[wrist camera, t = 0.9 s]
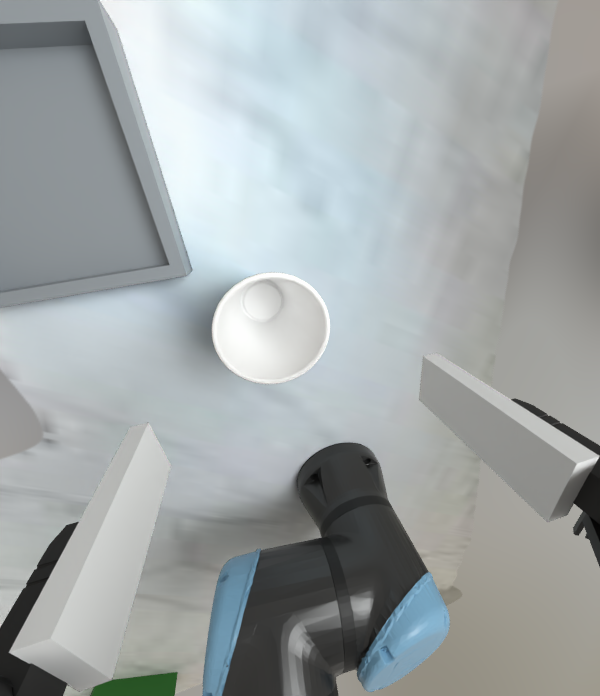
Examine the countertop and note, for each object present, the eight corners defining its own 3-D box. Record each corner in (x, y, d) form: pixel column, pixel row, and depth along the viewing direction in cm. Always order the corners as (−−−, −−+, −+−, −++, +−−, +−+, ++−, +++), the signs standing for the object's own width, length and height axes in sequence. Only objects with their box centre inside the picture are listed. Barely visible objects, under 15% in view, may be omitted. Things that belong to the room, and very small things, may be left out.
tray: (192, 270, 28) (186, 275, 25) (3, 302, 26) (-29, 312, 23) (117, 29, 20) (95, -7, 17) (-170, 42, 18) (-257, 2, 15)
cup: (286, 347, 35) (305, 394, 25) (210, 326, 31) (197, 370, 21) (314, 276, 31) (349, 297, 22) (233, 244, 28) (231, 252, 18)
